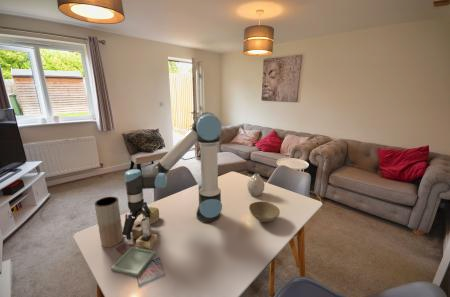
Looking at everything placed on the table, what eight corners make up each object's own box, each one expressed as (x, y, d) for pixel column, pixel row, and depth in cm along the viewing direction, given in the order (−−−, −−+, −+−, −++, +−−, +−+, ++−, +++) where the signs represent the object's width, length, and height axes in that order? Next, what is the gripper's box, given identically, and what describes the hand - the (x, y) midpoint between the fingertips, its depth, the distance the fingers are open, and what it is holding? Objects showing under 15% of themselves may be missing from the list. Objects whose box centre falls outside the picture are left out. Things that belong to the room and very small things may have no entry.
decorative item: (149, 230, 118) (157, 219, 115) (136, 220, 118) (144, 208, 115) (157, 221, 127) (165, 211, 124) (145, 211, 127) (153, 201, 124)
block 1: (149, 232, 111) (148, 222, 109) (141, 240, 104) (140, 230, 103) (138, 230, 112) (137, 220, 111) (129, 238, 106) (128, 228, 104)
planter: (108, 233, 109) (102, 195, 103) (126, 234, 109) (121, 196, 103) (96, 247, 99) (89, 206, 94) (116, 247, 99) (110, 206, 93)
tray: (155, 253, 96) (155, 251, 95) (137, 276, 83) (137, 273, 83) (131, 248, 99) (131, 246, 98) (111, 270, 86) (110, 267, 86)
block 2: (157, 241, 104) (156, 234, 103) (149, 250, 98) (148, 243, 97) (145, 238, 106) (144, 232, 105) (136, 248, 99) (135, 241, 98)
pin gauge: (151, 242, 103) (149, 218, 99) (148, 247, 100) (145, 222, 96) (146, 241, 103) (143, 217, 100) (142, 245, 101) (140, 221, 97)
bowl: (284, 220, 123) (285, 208, 121) (268, 234, 110) (269, 221, 108) (259, 208, 135) (259, 198, 133) (242, 220, 122) (242, 208, 120)
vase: (265, 198, 148) (266, 177, 144) (247, 198, 149) (248, 177, 144) (262, 191, 161) (263, 171, 157) (246, 190, 161) (247, 171, 157)
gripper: (144, 188, 115) (147, 220, 121) (110, 211, 92) (116, 250, 97) (155, 189, 114) (158, 222, 119) (124, 213, 90) (129, 253, 96)
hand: (139, 235), depth 108 cm, fingers open, 13 cm apart
